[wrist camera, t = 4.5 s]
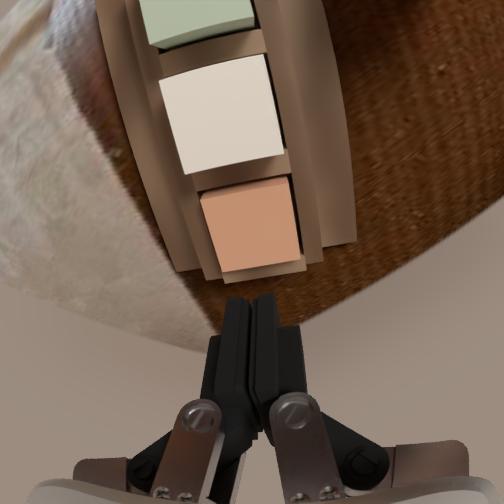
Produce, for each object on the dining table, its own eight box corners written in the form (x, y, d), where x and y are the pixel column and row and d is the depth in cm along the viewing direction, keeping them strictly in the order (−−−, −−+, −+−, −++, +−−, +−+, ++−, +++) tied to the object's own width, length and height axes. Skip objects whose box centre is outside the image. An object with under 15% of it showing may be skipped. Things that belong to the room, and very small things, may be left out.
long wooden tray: (301, -52, 12) (309, -73, 9) (353, 234, 23) (366, 259, 20) (100, 1, 13) (76, -8, 10) (179, 265, 24) (169, 292, 21)
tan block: (283, 168, 19) (288, 182, 16) (295, 236, 21) (300, 259, 19) (207, 183, 20) (199, 200, 17) (226, 248, 22) (222, 272, 19)
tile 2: (262, 59, 14) (263, 53, 12) (279, 142, 17) (284, 153, 14) (174, 80, 15) (158, 80, 12) (195, 160, 17) (184, 174, 15)
